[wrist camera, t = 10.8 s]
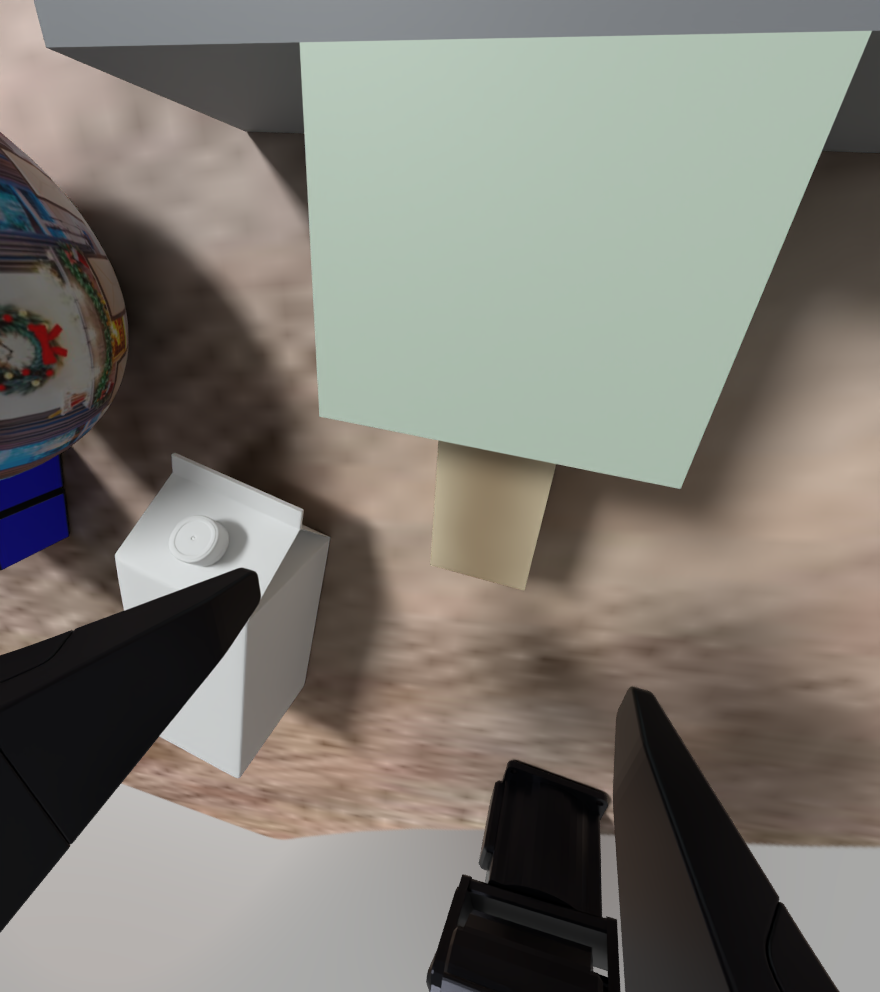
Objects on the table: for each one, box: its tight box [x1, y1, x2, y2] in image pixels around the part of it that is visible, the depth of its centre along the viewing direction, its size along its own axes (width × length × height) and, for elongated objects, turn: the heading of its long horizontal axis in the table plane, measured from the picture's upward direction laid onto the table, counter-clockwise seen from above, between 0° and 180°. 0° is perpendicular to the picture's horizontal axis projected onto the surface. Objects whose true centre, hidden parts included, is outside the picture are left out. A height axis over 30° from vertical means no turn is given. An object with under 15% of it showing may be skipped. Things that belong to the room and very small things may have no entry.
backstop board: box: [34, 0, 880, 153], centre depth 10 cm, size 24×2×7 cm, turn 85°
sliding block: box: [300, 31, 872, 489], centre depth 12 cm, size 10×8×7 cm
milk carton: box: [115, 453, 331, 778], centre depth 25 cm, size 7×7×19 cm
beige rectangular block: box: [430, 441, 556, 591], centre depth 16 cm, size 4×11×4 cm, turn 175°
